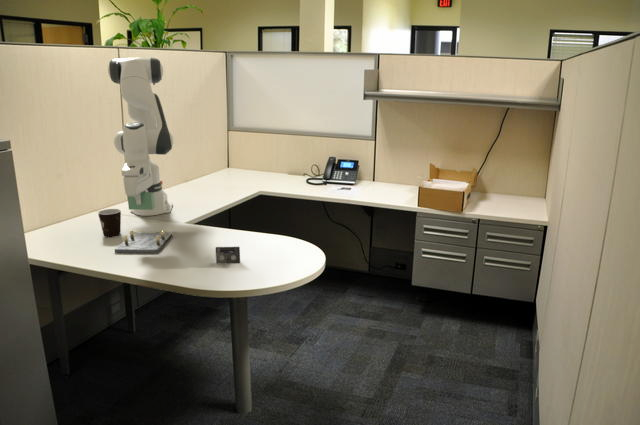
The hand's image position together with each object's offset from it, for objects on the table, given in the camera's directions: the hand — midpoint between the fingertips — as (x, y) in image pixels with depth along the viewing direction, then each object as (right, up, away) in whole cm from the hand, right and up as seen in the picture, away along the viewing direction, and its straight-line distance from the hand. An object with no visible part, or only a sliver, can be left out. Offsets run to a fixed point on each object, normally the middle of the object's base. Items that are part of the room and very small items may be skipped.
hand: (141, 202), depth 202 cm
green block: (0, -2, +1) cm, 2 cm away
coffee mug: (-17, -14, +15) cm, 26 cm away
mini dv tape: (+36, -22, -14) cm, 44 cm away
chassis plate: (0, -16, +5) cm, 17 cm away
